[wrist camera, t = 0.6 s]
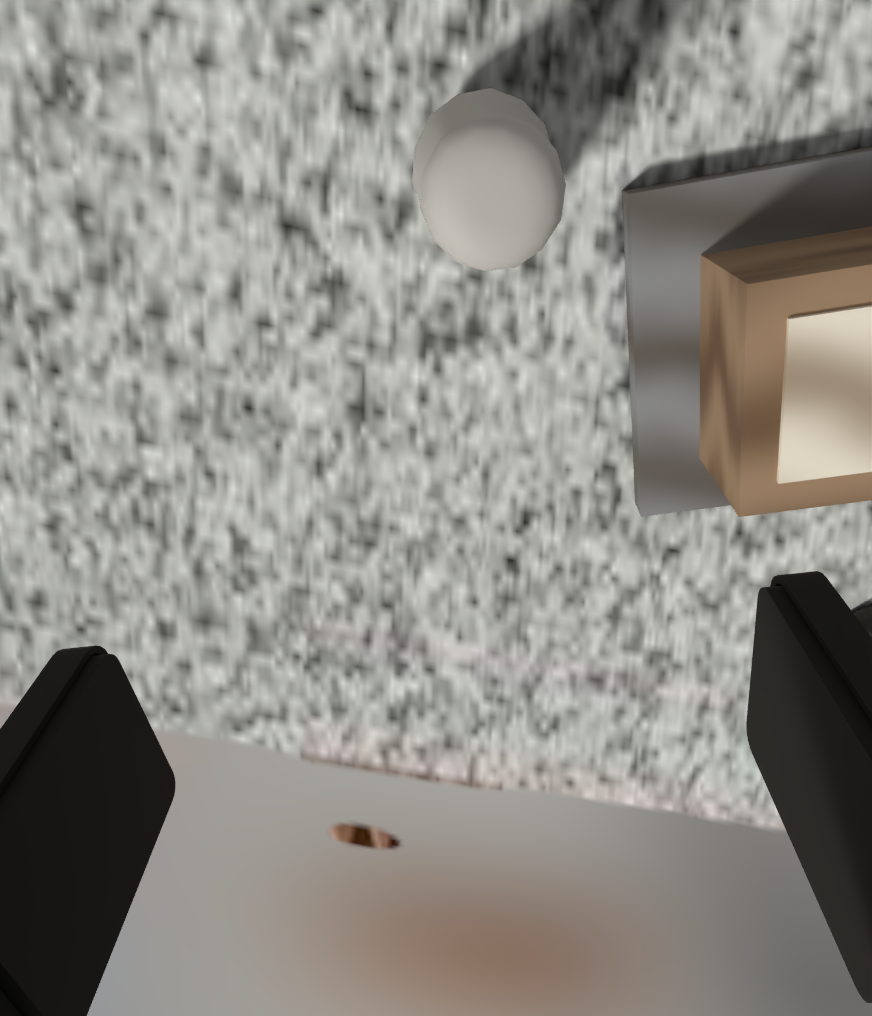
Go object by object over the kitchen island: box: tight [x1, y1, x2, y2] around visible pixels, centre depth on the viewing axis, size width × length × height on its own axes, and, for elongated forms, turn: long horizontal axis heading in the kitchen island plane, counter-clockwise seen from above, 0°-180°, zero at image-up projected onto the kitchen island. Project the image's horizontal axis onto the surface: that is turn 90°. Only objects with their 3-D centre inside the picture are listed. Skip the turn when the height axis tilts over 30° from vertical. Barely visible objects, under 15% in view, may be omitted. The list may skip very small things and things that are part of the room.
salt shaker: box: [412, 88, 566, 271], centre depth 26 cm, size 6×6×13 cm
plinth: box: [622, 146, 872, 517], centre depth 32 cm, size 16×16×8 cm
